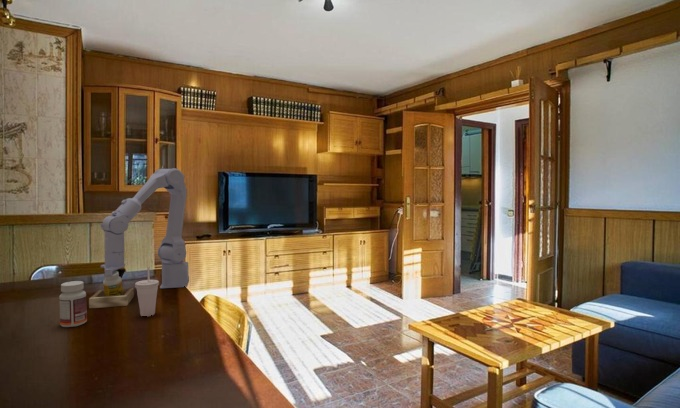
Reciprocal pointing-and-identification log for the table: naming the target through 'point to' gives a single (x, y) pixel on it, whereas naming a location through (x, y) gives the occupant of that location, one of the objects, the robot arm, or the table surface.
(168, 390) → the table surface
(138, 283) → the smoothie
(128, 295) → the beech corral
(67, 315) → the pill bottle
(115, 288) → the supplement bottle
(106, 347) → the table surface
